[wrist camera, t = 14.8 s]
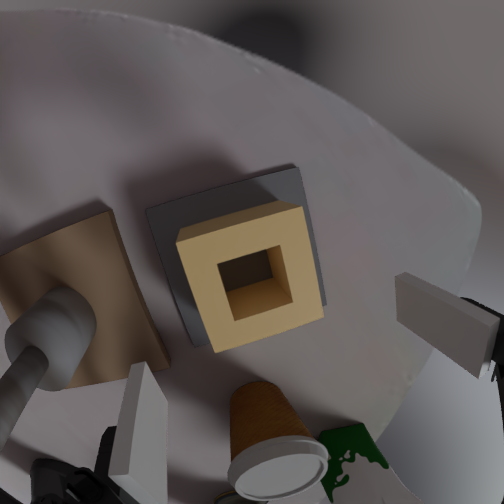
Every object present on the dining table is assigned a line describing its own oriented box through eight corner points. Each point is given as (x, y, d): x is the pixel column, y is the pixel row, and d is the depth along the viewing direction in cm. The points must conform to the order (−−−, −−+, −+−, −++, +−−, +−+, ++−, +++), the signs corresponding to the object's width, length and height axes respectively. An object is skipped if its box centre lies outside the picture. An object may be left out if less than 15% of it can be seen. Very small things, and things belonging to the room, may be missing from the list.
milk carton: (352, 452, 39) (405, 538, 20) (302, 462, 37) (347, 562, 18) (370, 417, 37) (438, 509, 18) (316, 427, 35) (377, 540, 16)
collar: (210, 319, 28) (214, 353, 22) (180, 228, 25) (175, 242, 19) (299, 290, 29) (324, 317, 23) (279, 200, 26) (302, 206, 20)
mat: (194, 344, 28) (194, 347, 28) (146, 209, 25) (145, 210, 24) (324, 302, 30) (326, 304, 30) (297, 167, 26) (298, 167, 26)
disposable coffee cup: (204, 383, 30) (214, 469, 18) (288, 359, 31) (330, 435, 20) (228, 434, 32) (244, 510, 21) (300, 413, 34) (334, 483, 22)
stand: (53, 383, 27) (1, 497, 9) (-7, 259, 22) (-120, 328, 5) (170, 359, 28) (165, 515, 11) (112, 209, 24) (-15, 264, 7)
